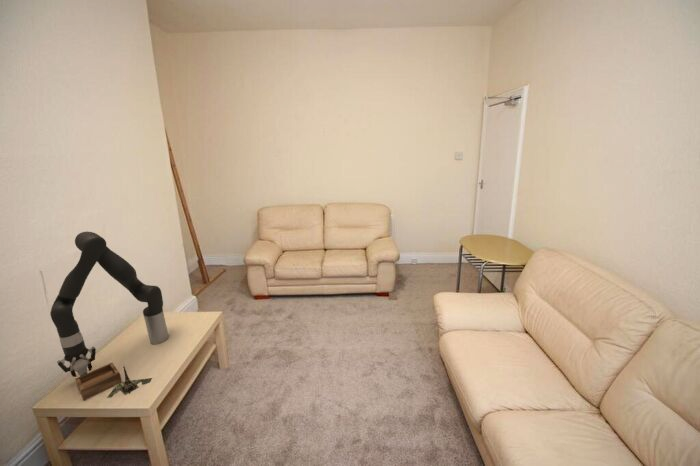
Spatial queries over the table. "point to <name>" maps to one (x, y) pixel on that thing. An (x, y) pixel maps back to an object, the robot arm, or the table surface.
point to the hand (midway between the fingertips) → (82, 372)
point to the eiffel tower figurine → (128, 385)
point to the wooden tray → (98, 380)
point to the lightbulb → (81, 366)
